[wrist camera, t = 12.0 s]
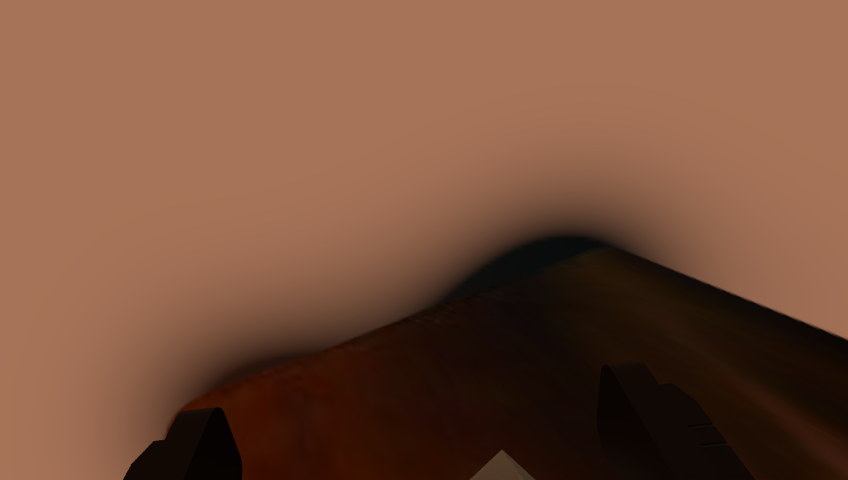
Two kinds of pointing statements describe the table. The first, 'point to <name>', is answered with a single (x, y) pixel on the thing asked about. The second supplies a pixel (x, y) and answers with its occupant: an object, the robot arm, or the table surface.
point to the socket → (502, 469)
